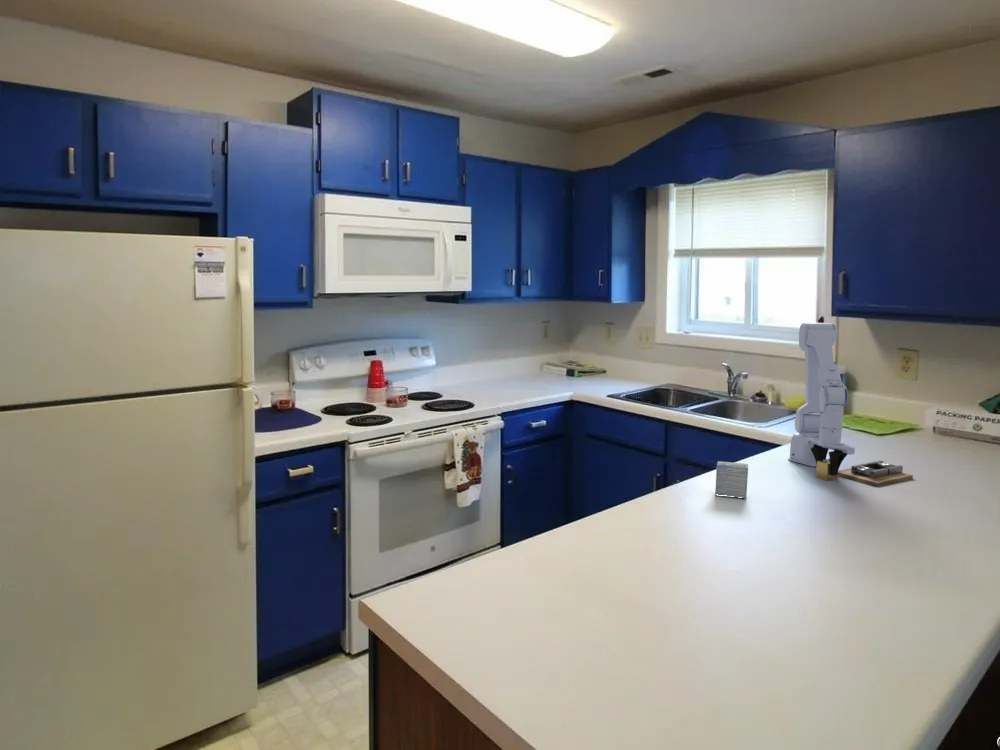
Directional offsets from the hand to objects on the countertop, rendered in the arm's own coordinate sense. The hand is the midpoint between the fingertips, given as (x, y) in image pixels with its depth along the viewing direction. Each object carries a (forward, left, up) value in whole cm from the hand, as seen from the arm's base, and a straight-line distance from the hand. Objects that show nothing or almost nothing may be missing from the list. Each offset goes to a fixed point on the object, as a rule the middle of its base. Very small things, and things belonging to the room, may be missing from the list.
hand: (827, 473), depth 199 cm
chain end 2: (+6, +19, 0) cm, 19 cm away
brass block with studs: (0, 0, -2) cm, 2 cm away
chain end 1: (+5, +11, 0) cm, 13 cm away
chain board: (+5, +14, -1) cm, 15 cm away
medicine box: (-1, -38, -2) cm, 38 cm away
